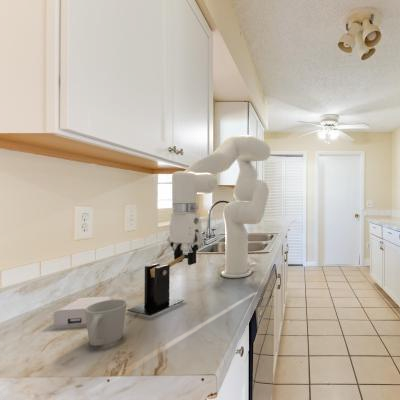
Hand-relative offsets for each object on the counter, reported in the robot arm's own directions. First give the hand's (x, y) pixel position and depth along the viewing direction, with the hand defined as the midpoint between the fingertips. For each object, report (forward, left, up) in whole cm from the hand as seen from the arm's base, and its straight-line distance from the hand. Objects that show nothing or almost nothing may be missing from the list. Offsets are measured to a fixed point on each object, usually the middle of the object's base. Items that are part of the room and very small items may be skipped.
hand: (185, 262), depth 91 cm
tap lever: (+5, +2, 0) cm, 6 cm away
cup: (+26, +17, -12) cm, 33 cm away
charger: (+24, -4, -12) cm, 27 cm away
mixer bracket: (+10, +4, -11) cm, 16 cm away
